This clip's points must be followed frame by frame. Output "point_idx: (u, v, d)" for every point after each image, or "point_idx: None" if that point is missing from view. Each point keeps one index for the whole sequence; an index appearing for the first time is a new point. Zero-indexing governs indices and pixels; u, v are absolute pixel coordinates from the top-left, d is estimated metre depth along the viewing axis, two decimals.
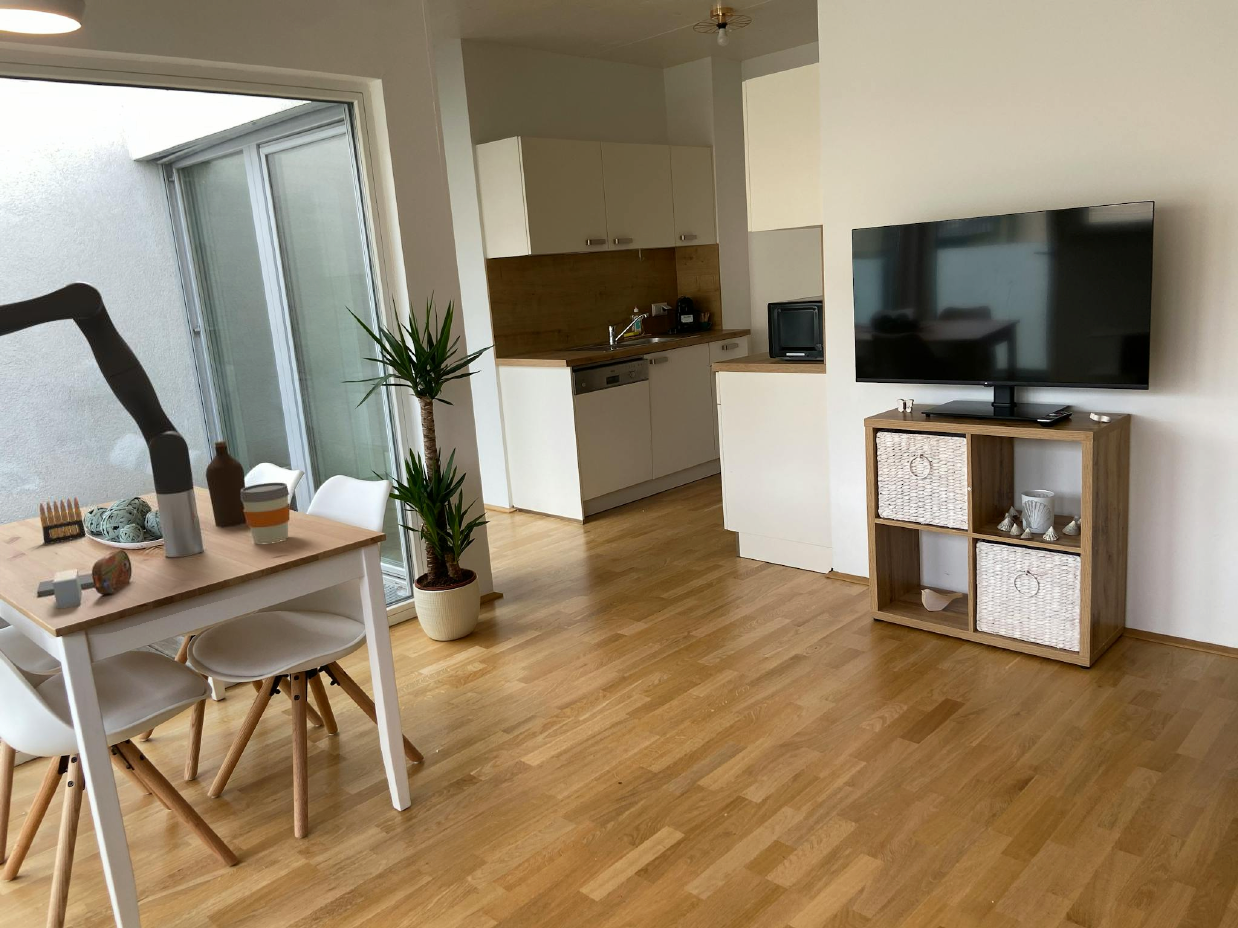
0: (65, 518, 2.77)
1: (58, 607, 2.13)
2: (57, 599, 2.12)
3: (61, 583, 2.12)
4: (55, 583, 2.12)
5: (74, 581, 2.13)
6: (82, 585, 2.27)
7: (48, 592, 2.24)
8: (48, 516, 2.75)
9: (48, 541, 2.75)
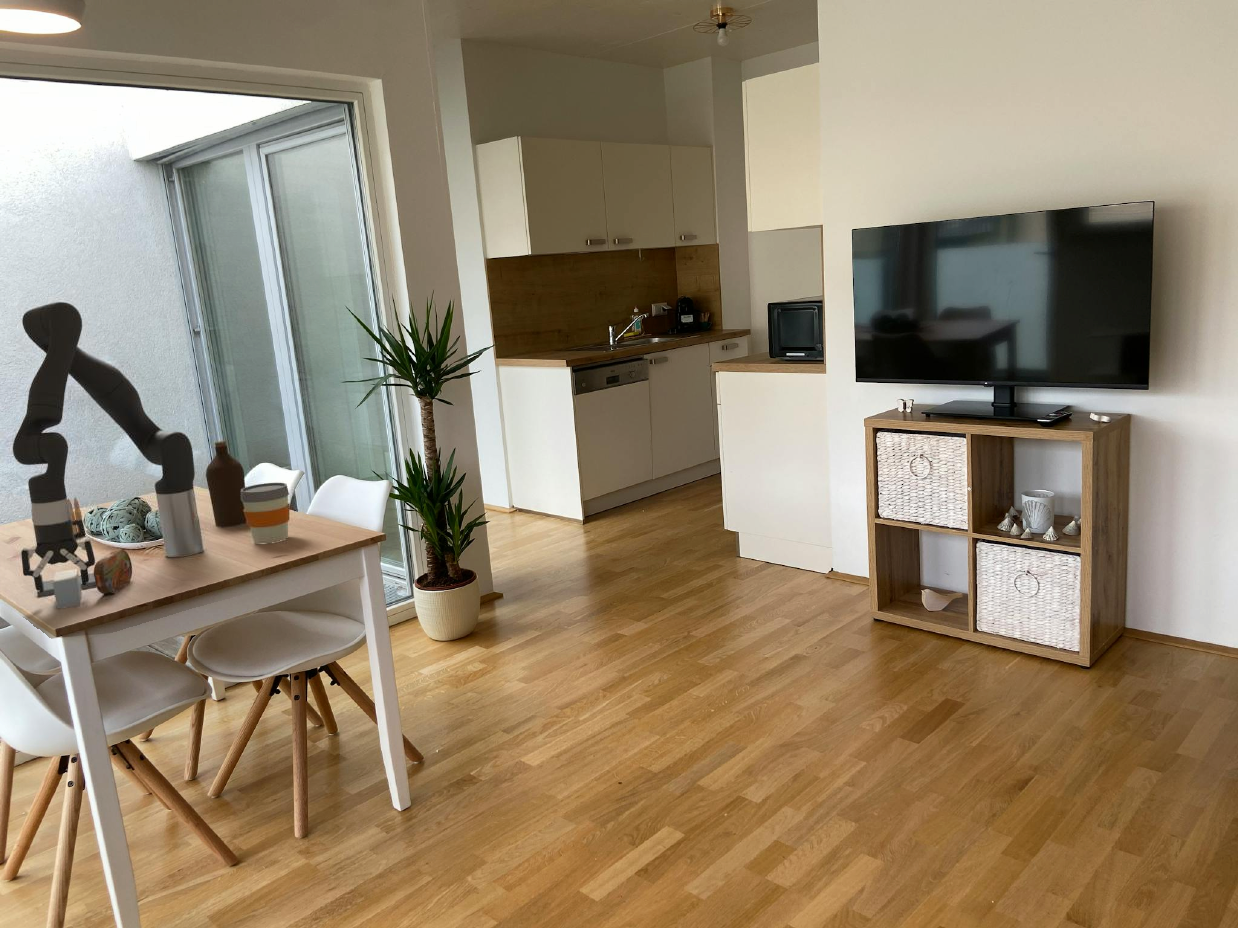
0: None
1: (58, 607, 2.13)
2: (57, 599, 2.12)
3: (61, 583, 2.12)
4: (55, 583, 2.12)
5: (74, 581, 2.13)
6: (82, 585, 2.27)
7: (48, 592, 2.24)
8: None
9: None
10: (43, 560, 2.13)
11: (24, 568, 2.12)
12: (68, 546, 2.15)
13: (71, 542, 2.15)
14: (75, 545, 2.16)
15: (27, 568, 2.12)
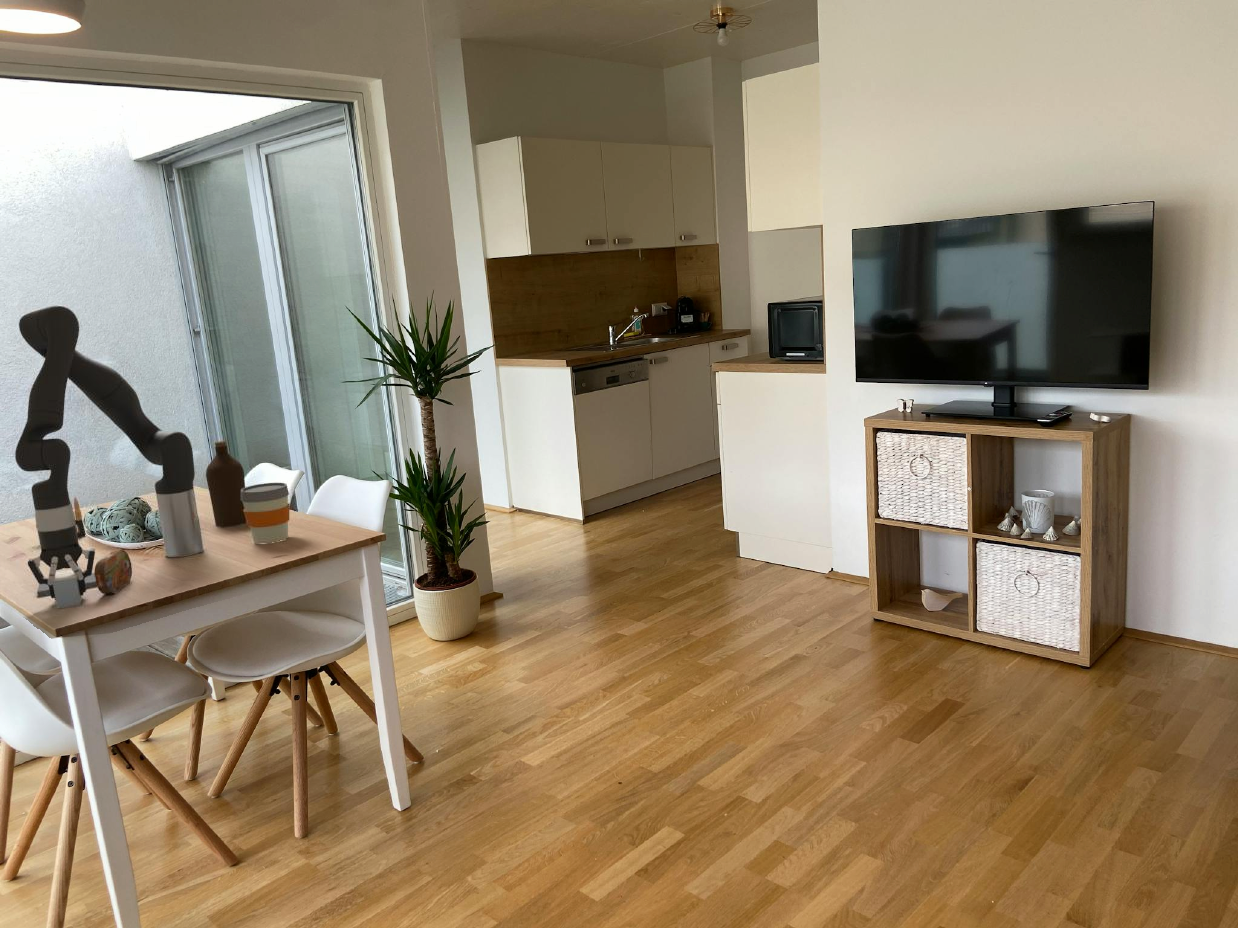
0: None
1: (58, 607, 2.13)
2: (57, 599, 2.12)
3: (61, 583, 2.12)
4: (55, 583, 2.12)
5: (74, 581, 2.13)
6: None
7: (48, 592, 2.24)
8: None
9: None
10: (51, 567, 2.14)
11: (37, 577, 2.13)
12: (73, 551, 2.16)
13: (77, 548, 2.16)
14: (80, 552, 2.17)
15: (40, 577, 2.13)
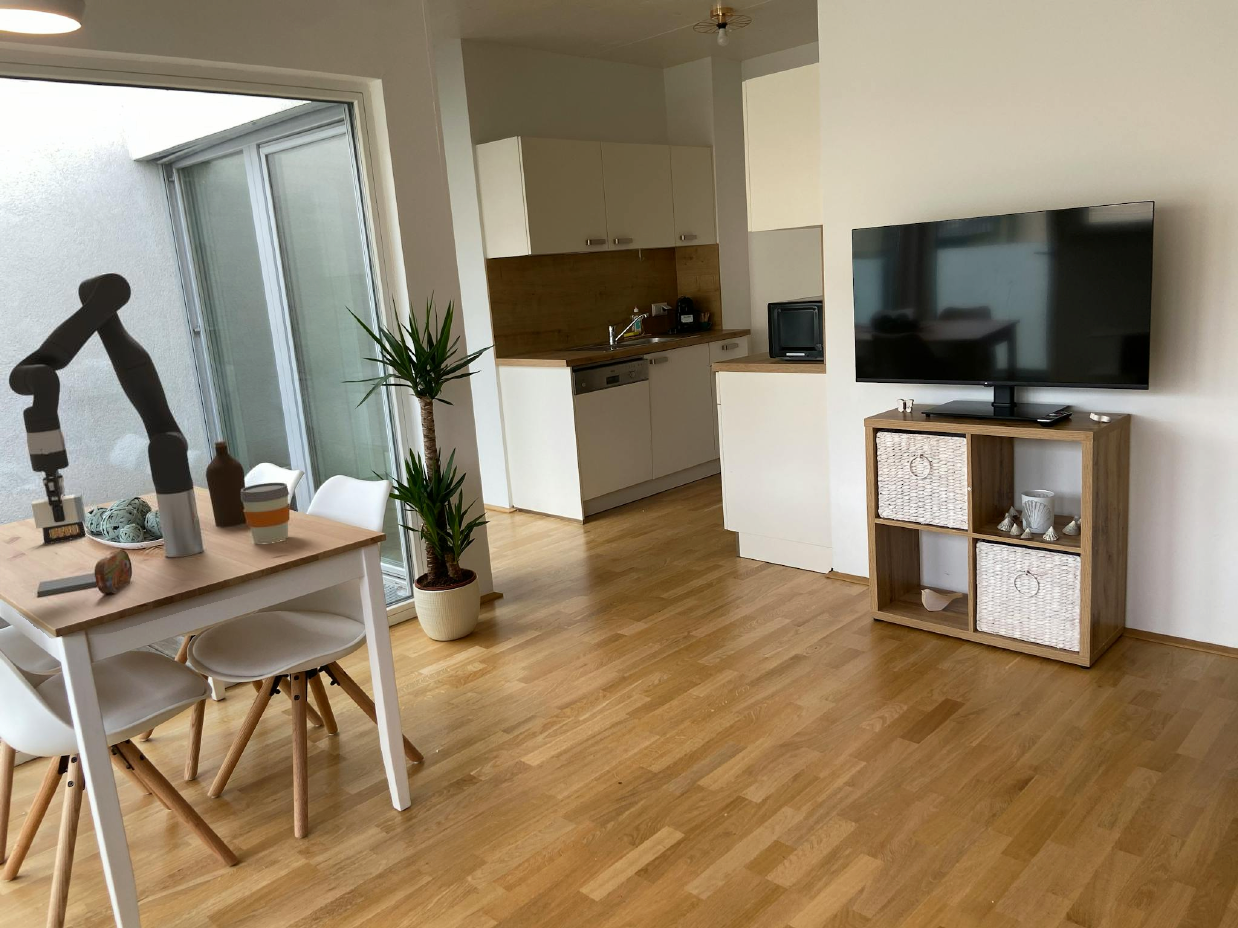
0: None
1: (85, 519, 2.26)
2: (83, 512, 2.25)
3: (81, 497, 2.26)
4: (80, 497, 2.25)
5: (81, 495, 2.28)
6: (82, 585, 2.27)
7: (48, 592, 2.24)
8: None
9: (48, 541, 2.75)
10: (62, 487, 2.22)
11: (60, 498, 2.20)
12: (58, 473, 2.26)
13: None
14: None
15: (60, 497, 2.20)
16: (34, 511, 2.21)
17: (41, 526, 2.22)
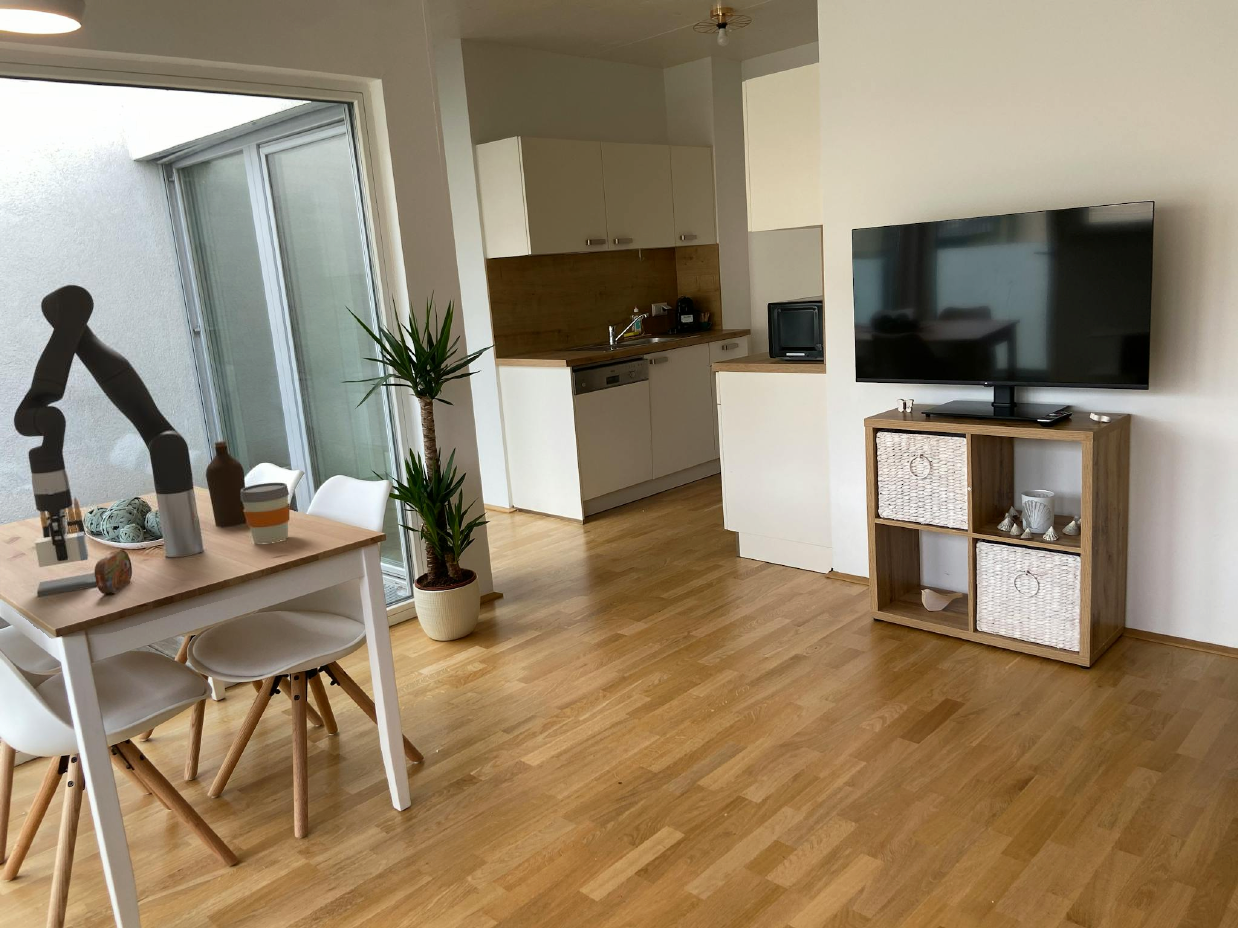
0: None
1: (87, 558, 2.29)
2: (86, 550, 2.29)
3: (83, 535, 2.29)
4: (83, 536, 2.28)
5: None
6: (82, 585, 2.27)
7: (48, 592, 2.24)
8: None
9: None
10: (65, 527, 2.26)
11: (63, 537, 2.23)
12: None
13: None
14: None
15: (63, 536, 2.24)
16: (37, 550, 2.24)
17: (44, 565, 2.25)
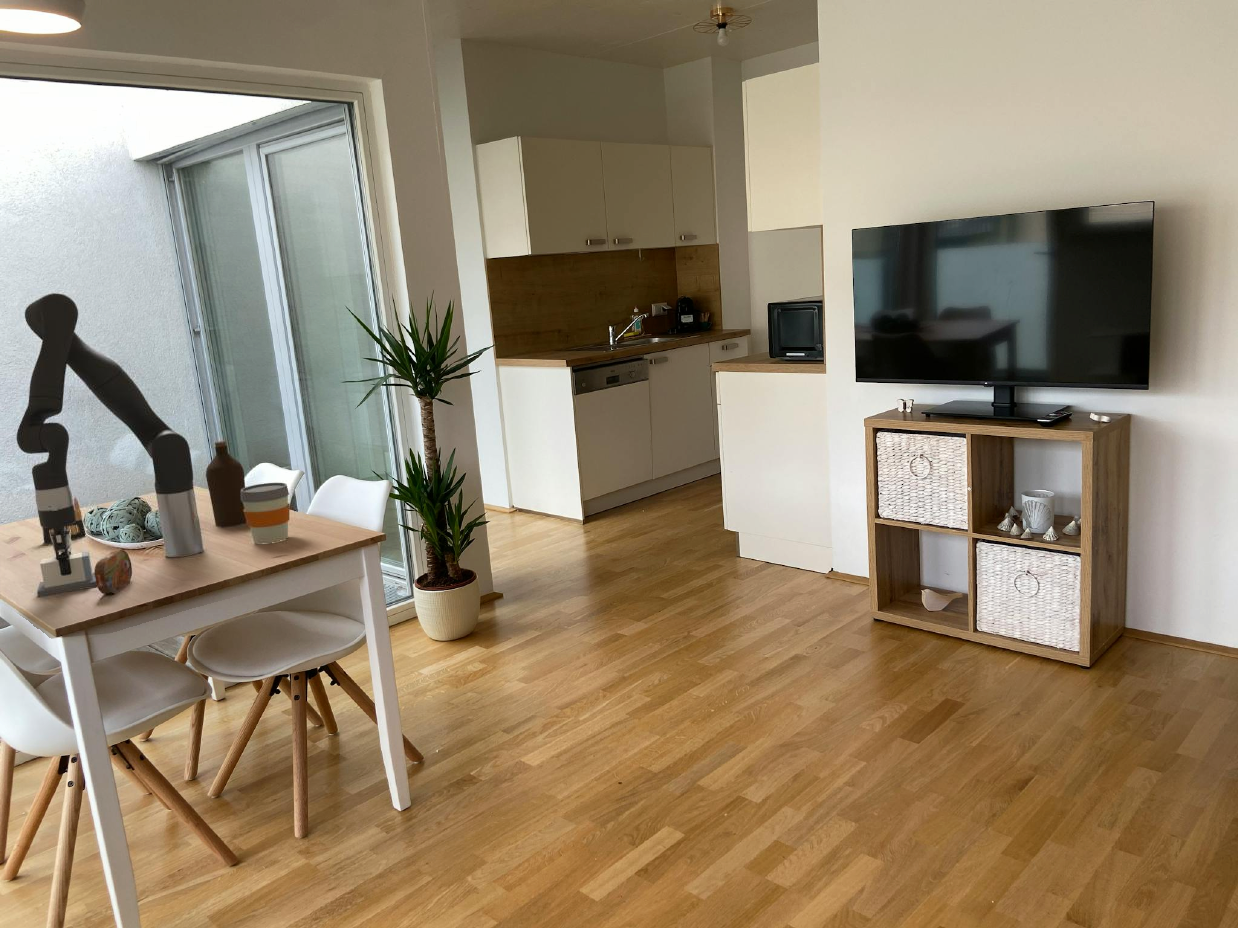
0: None
1: (92, 578, 2.30)
2: (91, 570, 2.30)
3: (88, 555, 2.30)
4: (88, 556, 2.29)
5: None
6: (82, 585, 2.27)
7: (48, 592, 2.24)
8: None
9: (48, 541, 2.75)
10: (69, 541, 2.26)
11: (67, 551, 2.23)
12: (65, 528, 2.30)
13: None
14: None
15: (67, 551, 2.23)
16: (43, 571, 2.25)
17: (49, 585, 2.26)
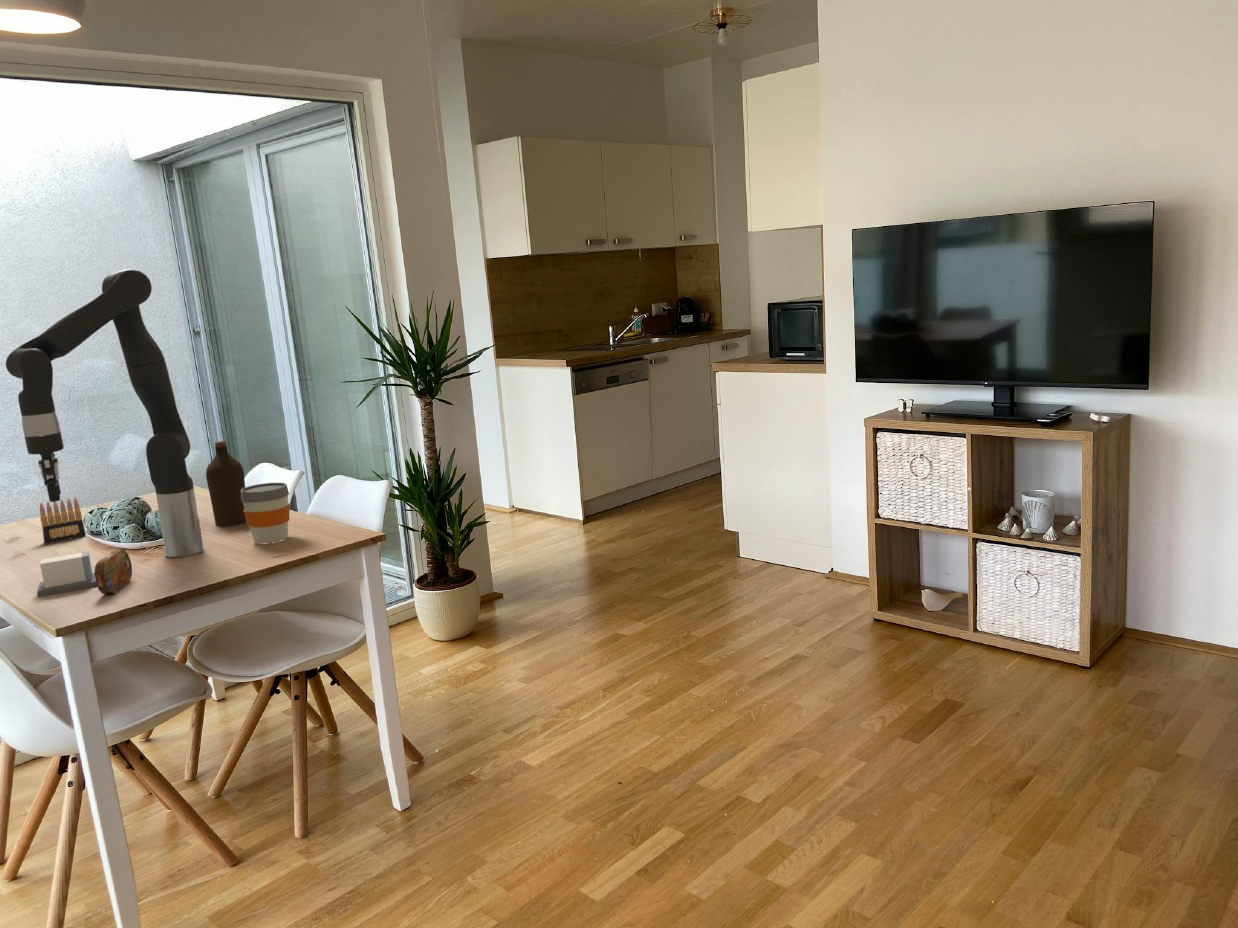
0: (65, 518, 2.77)
1: (92, 578, 2.30)
2: (91, 570, 2.30)
3: (88, 555, 2.30)
4: (88, 556, 2.29)
5: None
6: (82, 585, 2.27)
7: (48, 592, 2.24)
8: (48, 516, 2.75)
9: (48, 541, 2.75)
10: (57, 468, 2.25)
11: (55, 476, 2.21)
12: (53, 457, 2.28)
13: (52, 453, 2.29)
14: None
15: (55, 476, 2.22)
16: (43, 571, 2.25)
17: (49, 585, 2.26)
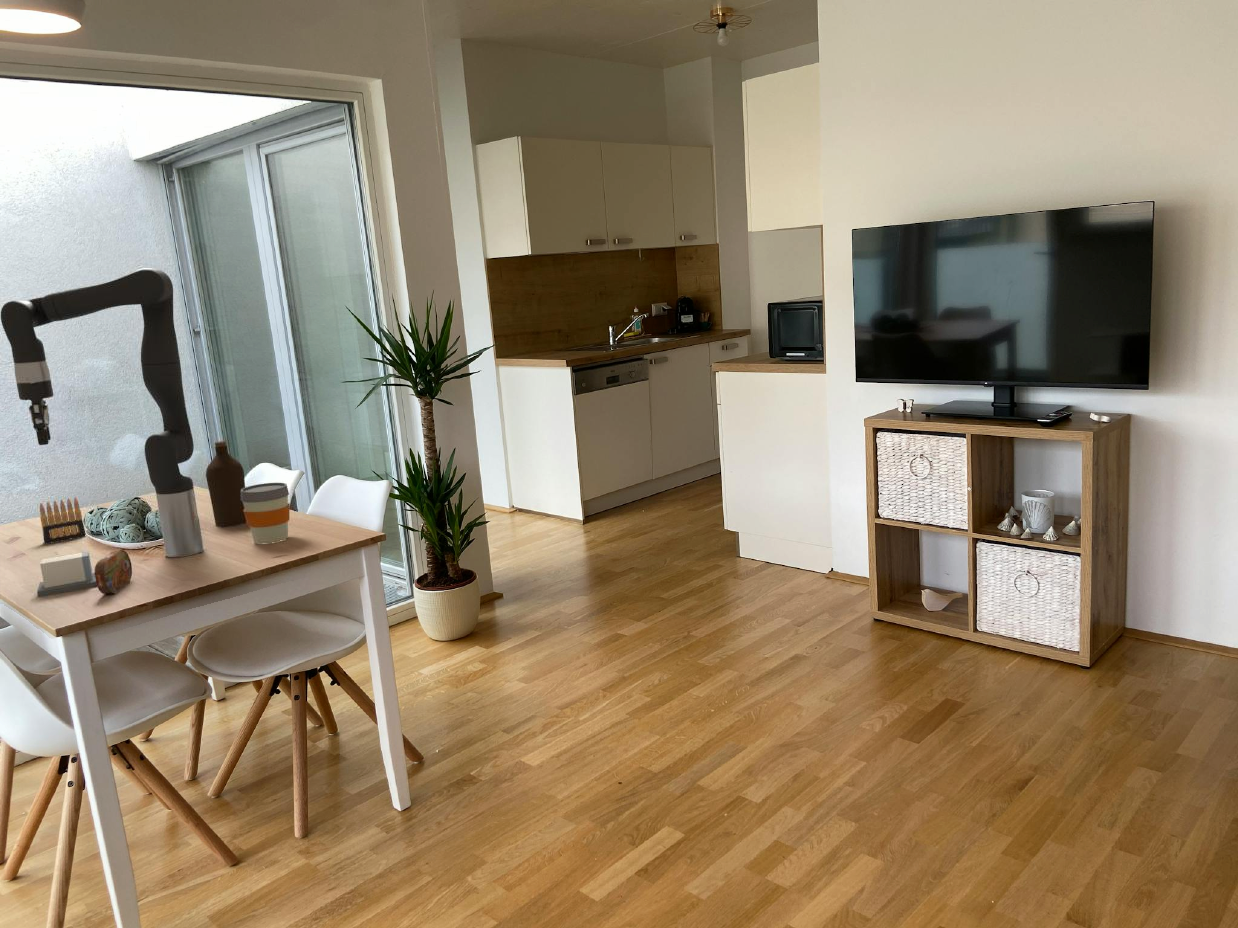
0: (65, 518, 2.77)
1: (92, 578, 2.30)
2: (91, 570, 2.30)
3: (88, 555, 2.30)
4: (88, 556, 2.29)
5: None
6: (82, 585, 2.27)
7: (48, 592, 2.24)
8: (48, 516, 2.75)
9: (48, 541, 2.75)
10: (46, 414, 2.39)
11: (44, 421, 2.36)
12: (43, 403, 2.43)
13: (43, 400, 2.43)
14: None
15: (44, 421, 2.36)
16: (43, 571, 2.25)
17: (49, 585, 2.26)
